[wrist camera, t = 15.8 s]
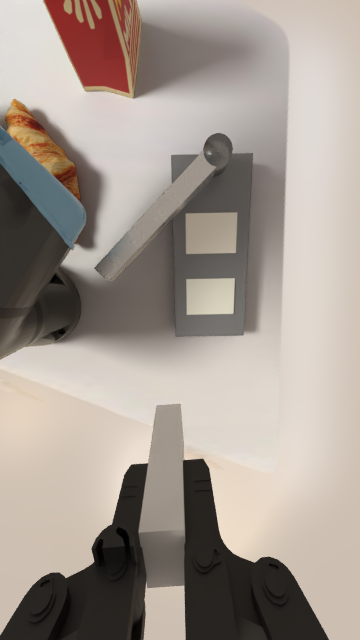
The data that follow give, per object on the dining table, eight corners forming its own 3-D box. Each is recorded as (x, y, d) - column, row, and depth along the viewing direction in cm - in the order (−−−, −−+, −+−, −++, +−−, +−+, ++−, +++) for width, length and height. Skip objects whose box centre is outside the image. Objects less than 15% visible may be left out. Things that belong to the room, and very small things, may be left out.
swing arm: (99, 265, 33) (91, 265, 30) (215, 140, 29) (219, 126, 26) (116, 282, 34) (110, 284, 31) (232, 162, 30) (238, 150, 27)
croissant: (22, 131, 37) (-38, 108, 30) (54, 88, 32) (-11, 49, 25) (73, 254, 41) (30, 258, 35) (108, 234, 36) (65, 235, 29)
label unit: (176, 331, 41) (175, 340, 36) (172, 164, 35) (170, 147, 30) (239, 330, 41) (247, 339, 36) (246, 162, 35) (258, 145, 30)
